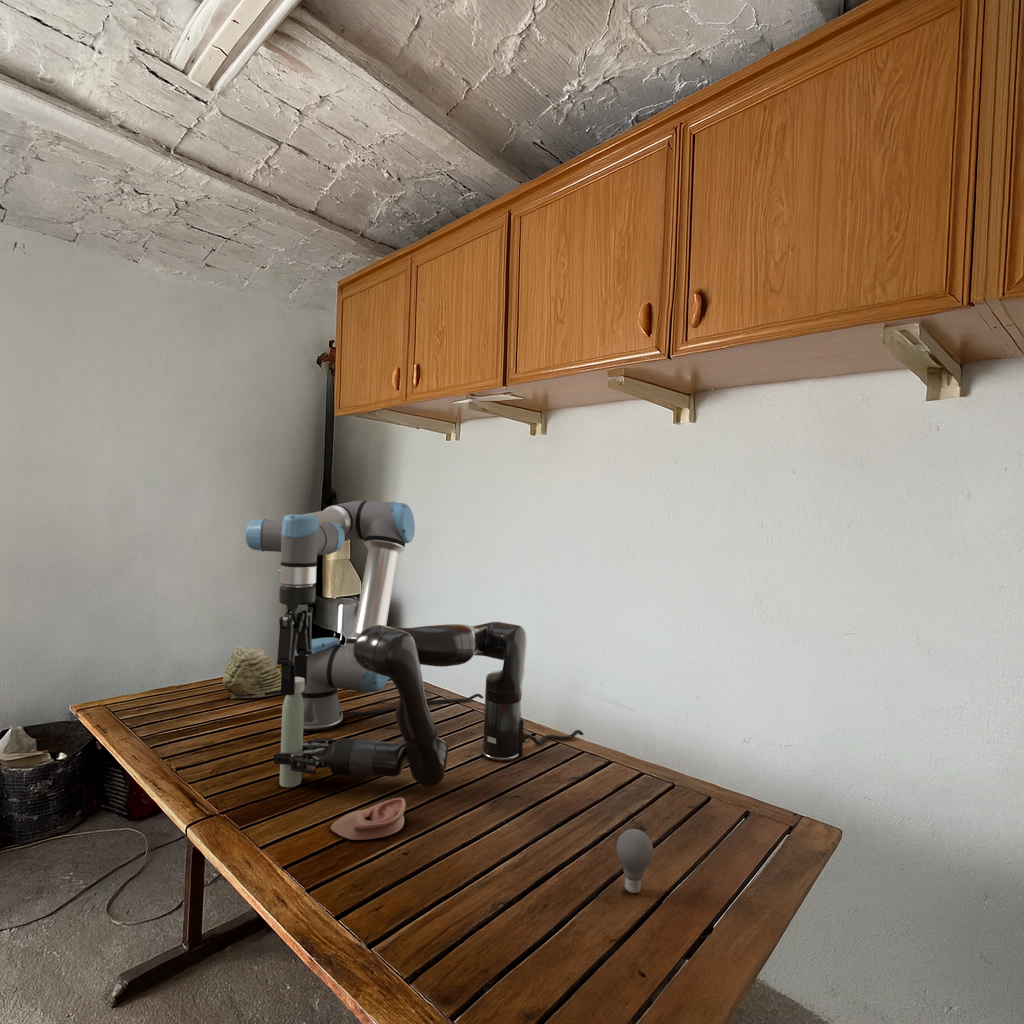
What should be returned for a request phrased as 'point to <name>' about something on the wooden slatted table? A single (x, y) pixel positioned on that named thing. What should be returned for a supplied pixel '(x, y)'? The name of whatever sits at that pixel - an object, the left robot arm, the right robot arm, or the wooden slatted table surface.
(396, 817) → the anatomical model
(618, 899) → the wooden slatted table surface
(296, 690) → the cap
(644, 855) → the light bulb
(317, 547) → the left robot arm
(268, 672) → the fossil
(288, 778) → the bottle
